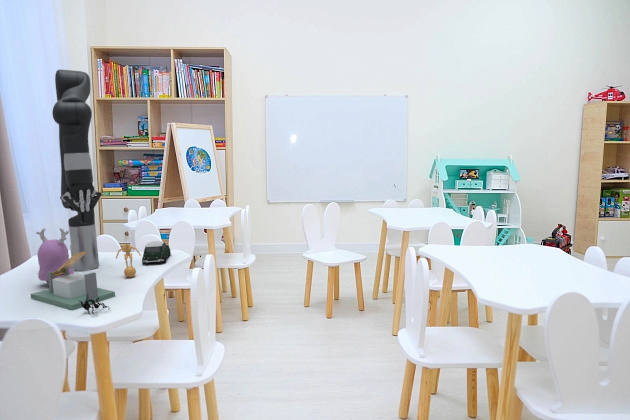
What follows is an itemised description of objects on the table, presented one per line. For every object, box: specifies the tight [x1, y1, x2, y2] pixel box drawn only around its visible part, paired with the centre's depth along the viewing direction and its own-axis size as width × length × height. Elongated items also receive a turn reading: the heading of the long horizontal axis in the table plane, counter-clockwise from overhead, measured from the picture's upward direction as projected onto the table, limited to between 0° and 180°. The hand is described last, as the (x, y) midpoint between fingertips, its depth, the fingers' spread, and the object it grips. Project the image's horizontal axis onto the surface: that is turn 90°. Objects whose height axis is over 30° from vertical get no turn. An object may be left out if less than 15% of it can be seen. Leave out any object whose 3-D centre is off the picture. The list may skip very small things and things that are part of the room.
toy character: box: [35, 227, 75, 285], centre depth 162 cm, size 12×10×20 cm
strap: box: [53, 251, 86, 277], centre depth 147 cm, size 17×3×2 cm
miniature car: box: [141, 240, 172, 266], centre depth 194 cm, size 9×18×8 cm, turn 9°
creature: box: [80, 294, 110, 317], centre depth 134 cm, size 8×5×8 cm
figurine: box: [115, 243, 141, 278], centre depth 170 cm, size 8×6×12 cm
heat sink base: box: [30, 269, 116, 311], centre depth 148 cm, size 23×14×9 cm, turn 58°
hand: (84, 223), depth 147 cm, fingers closed
